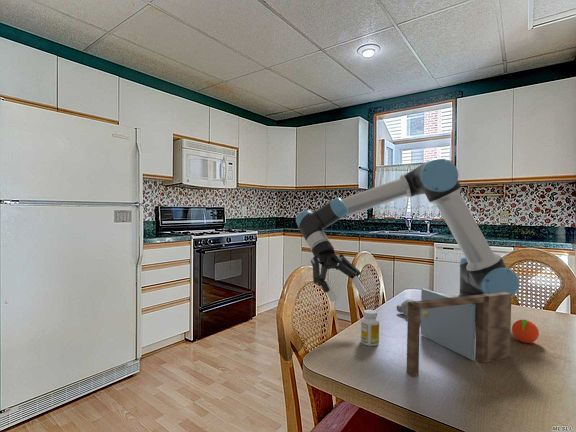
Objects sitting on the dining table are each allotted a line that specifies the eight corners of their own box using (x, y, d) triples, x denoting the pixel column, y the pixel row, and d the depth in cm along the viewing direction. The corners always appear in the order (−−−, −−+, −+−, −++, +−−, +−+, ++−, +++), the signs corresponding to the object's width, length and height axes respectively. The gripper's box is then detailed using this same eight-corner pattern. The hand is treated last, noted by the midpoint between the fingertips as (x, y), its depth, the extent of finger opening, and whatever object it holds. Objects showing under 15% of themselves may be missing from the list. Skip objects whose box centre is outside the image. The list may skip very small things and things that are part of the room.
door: (476, 358, 90) (478, 304, 89) (468, 360, 89) (469, 305, 88) (425, 333, 108) (426, 288, 107) (418, 334, 107) (419, 289, 106)
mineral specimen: (441, 324, 118) (441, 305, 118) (426, 327, 115) (426, 308, 115) (410, 311, 132) (410, 295, 132) (396, 313, 130) (396, 297, 130)
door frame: (502, 354, 94) (504, 292, 93) (509, 357, 92) (511, 293, 91) (406, 373, 82) (408, 301, 81) (412, 376, 80) (413, 304, 80)
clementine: (536, 349, 97) (537, 326, 97) (509, 343, 102) (509, 320, 102) (539, 342, 103) (540, 319, 103) (513, 336, 108) (513, 314, 108)
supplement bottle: (379, 340, 102) (380, 310, 102) (378, 347, 97) (378, 315, 97) (361, 338, 104) (362, 308, 104) (359, 344, 99) (360, 313, 99)
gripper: (340, 250, 128) (368, 297, 116) (288, 255, 114) (314, 308, 102) (350, 238, 124) (381, 285, 112) (297, 241, 109) (326, 295, 97)
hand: (349, 297), depth 107 cm, fingers open, 13 cm apart
